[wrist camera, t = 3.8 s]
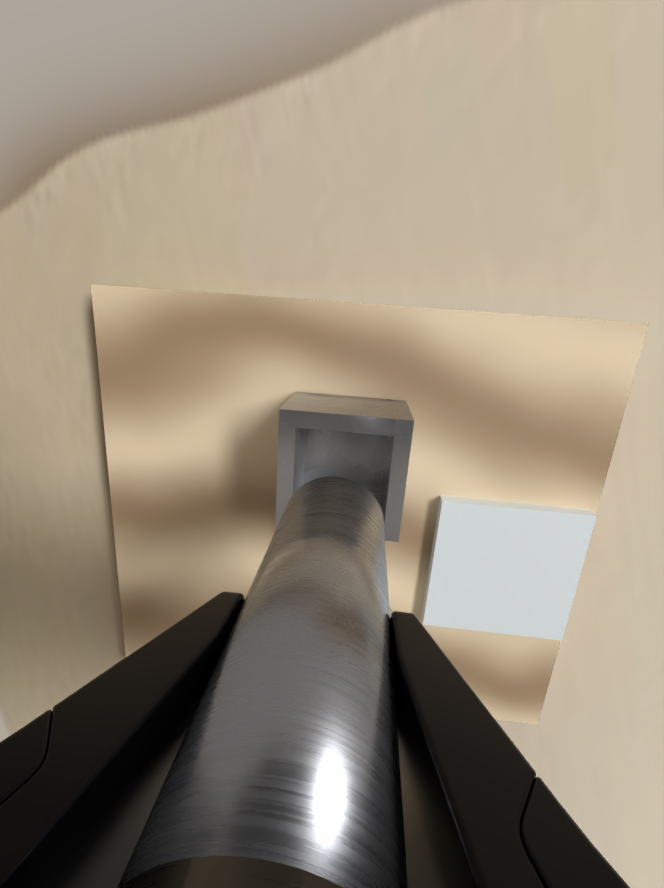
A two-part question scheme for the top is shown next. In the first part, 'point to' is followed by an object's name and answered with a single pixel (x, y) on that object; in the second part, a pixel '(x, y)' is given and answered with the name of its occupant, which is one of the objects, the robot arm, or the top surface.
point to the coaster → (505, 566)
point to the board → (350, 374)
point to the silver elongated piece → (346, 448)
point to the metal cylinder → (293, 722)
